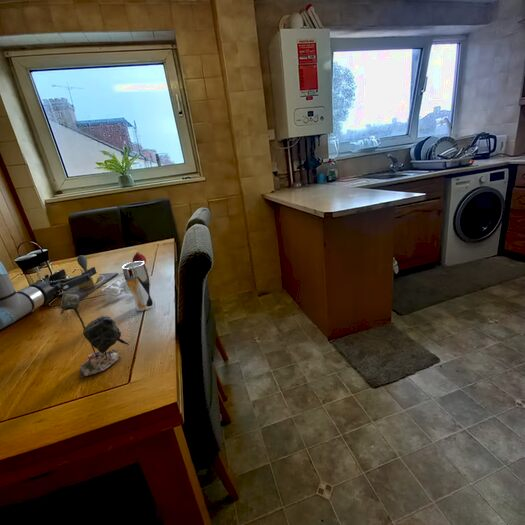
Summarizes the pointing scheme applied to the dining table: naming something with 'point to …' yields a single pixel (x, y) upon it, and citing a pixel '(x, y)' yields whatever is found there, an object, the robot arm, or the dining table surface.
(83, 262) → the rubber stamp
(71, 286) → the robot arm
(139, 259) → the onion
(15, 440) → the dining table surface
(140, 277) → the beer glass
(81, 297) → the ink pad
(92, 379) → the dining table surface
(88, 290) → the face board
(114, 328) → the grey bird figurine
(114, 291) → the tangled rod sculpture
